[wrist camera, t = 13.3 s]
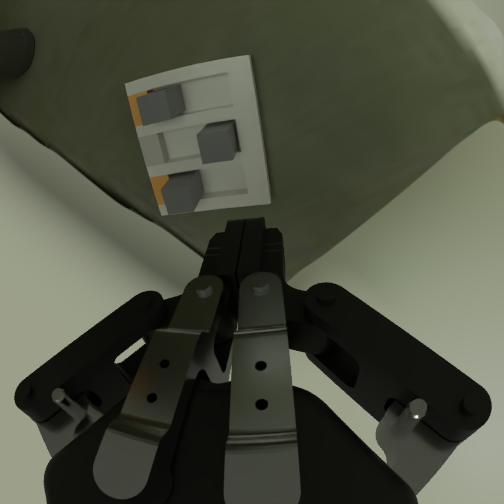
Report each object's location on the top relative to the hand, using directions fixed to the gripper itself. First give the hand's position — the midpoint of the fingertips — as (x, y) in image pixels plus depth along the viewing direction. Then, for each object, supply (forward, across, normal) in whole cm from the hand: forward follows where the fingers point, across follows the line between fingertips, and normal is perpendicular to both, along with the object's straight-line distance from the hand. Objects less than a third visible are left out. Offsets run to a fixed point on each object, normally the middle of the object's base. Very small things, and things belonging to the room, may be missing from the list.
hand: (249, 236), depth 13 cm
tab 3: (+28, +6, +2) cm, 28 cm away
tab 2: (+28, +12, +8) cm, 31 cm away
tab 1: (+28, +12, -4) cm, 31 cm away
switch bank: (+29, +9, +2) cm, 30 cm away
